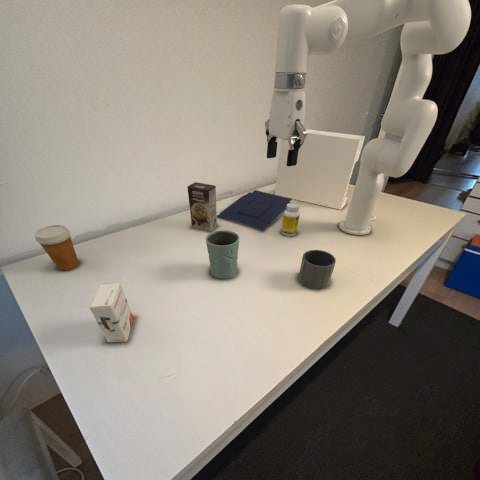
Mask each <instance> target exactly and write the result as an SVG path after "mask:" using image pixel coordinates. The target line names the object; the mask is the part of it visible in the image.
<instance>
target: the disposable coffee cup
mask: <svg viewBox="0 0 480 480" xmlns="http://www.w3.org/2000/svg"><path fill="white" fill-rule="evenodd" d="M34 240H35V241H36V242H37V243H38V244H39V245H40V246H41V247H42V249H43V250H44V252H45V253H46V254H47V255H48V256H49V258H50V259H51V261H52V262H53V263H54V264H55V266H56V267H57V269H58V270H60V271H69V270H74V269H75V268H76V267H78V266H79V263H80V262H79V259H78V256H77V252H76V249H75V246H74V243H73V240H72V237H71V231H70V230H69V229H68V228H67V227H66V226H65V225H63V224H62V225H61V224H52V225H51V224H50V225H46V226H44V227H41V228H39V229H37V230H36V231H35V232H34Z"/></svg>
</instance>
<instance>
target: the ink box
mask: <svg viewBox="0 0 480 480" xmlns="http://www.w3.org/2000/svg"><path fill="white" fill-rule="evenodd" d="M89 309H90V311H91V313H92V316H93V318H94V319H95V321H96V323H97V325H98V327H99V329H100V330H101V332H102V334H103V336H104V338H105V340H106V342H107V343H118V342H119V343H120V342H121V343H123V342H128V339H129V336H130V333H131V329H132V326H133V322H134V315H133V312H132V310H131V307H130V305H129V302H128V299H127V297H126V294H125V292H124V289H123V286H122V284H121V283H120V282H115V283H114V282H113V283H112V282H111V283H100V284H99V286H98V289H97V291H96V293H95V295H94V297H93V299H92V301H91V303H90V306H89Z"/></svg>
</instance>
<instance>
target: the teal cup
mask: <svg viewBox="0 0 480 480" xmlns="http://www.w3.org/2000/svg"><path fill="white" fill-rule="evenodd" d="M205 236H206V237H205V243H206V249H207V254H208V261H209V268H210V269H209V270H210V274H211V276H213V278H216V279H218V280H229V279H232V278H233V277H235V276H236V274H237V272H238V259H239V257H238V256H239V248H240V235H239V234H238V233H236V232H235V231H232V230H223V229H222V230H221V229H220V230H213V231H211V232H210V233H208V234H207V235H205Z"/></svg>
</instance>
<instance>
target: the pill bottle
mask: <svg viewBox="0 0 480 480" xmlns="http://www.w3.org/2000/svg"><path fill="white" fill-rule="evenodd" d="M299 209H300V205H299V204H298V203H297V202H296V203H295V202H291V203H289V204H287V208H286V210H284V211H283V216H282V223H281V234H282V235H284V236H287V237H293V236H295V235H296V234H297V232H298V226H299V220H300V215H301V213H300V211H299Z"/></svg>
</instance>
